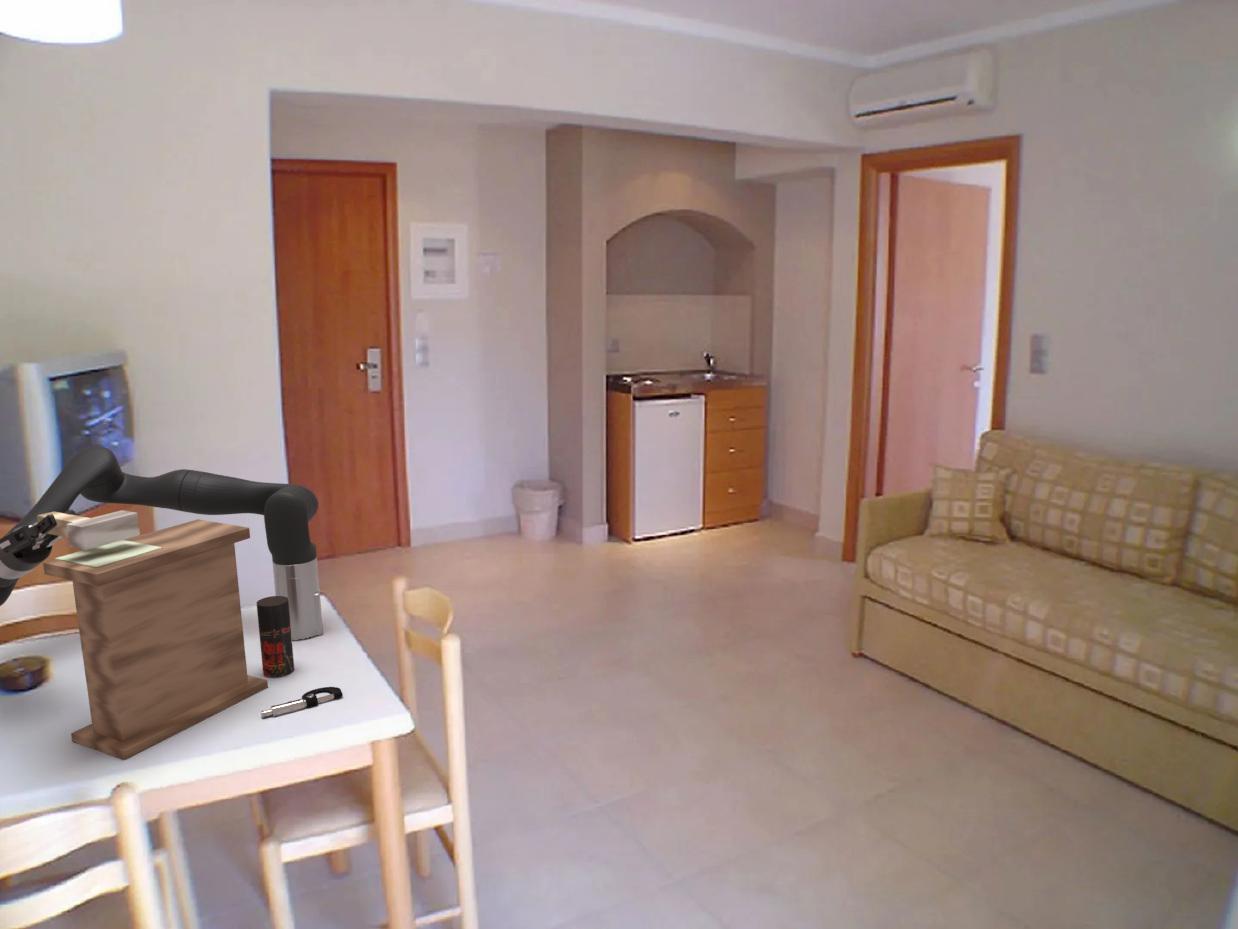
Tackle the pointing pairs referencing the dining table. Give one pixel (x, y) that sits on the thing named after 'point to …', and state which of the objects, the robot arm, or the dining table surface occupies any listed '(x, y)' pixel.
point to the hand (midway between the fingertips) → (63, 517)
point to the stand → (158, 633)
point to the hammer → (94, 528)
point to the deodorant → (275, 636)
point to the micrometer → (303, 702)
